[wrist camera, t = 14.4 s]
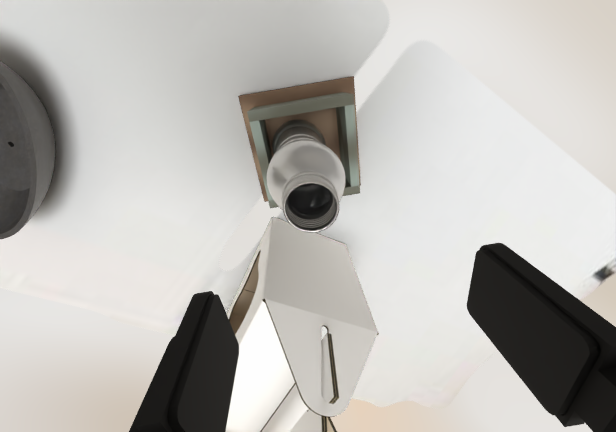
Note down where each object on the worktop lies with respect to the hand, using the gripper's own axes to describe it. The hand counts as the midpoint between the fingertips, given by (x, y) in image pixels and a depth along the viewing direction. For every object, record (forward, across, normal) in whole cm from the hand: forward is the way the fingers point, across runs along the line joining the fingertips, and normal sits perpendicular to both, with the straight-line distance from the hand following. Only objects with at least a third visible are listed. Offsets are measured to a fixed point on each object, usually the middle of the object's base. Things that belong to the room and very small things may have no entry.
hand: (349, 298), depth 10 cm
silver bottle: (+28, +1, 0) cm, 28 cm away
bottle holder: (+29, 0, 0) cm, 29 cm away
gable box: (+29, +7, +23) cm, 38 cm away
